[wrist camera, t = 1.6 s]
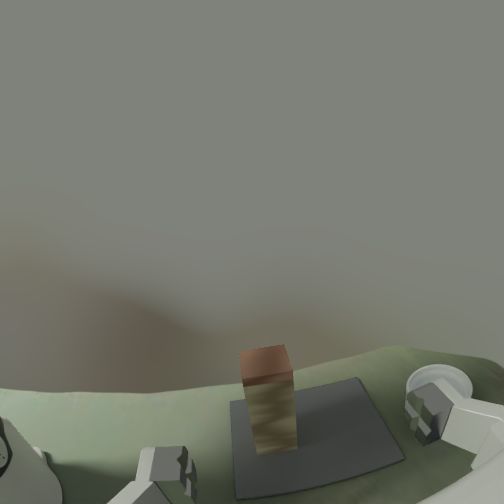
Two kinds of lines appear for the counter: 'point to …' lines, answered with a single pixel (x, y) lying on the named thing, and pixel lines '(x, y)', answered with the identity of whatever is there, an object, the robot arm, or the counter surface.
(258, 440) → the birch block
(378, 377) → the counter surface
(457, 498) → the robot arm
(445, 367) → the ramekin
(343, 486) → the counter surface
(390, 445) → the rubber mat
